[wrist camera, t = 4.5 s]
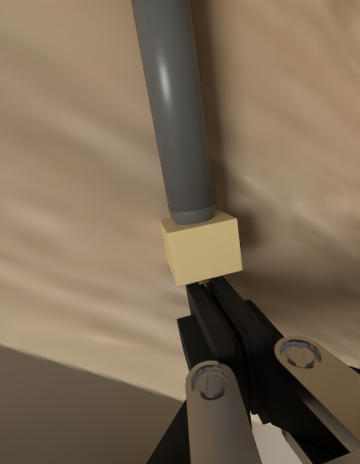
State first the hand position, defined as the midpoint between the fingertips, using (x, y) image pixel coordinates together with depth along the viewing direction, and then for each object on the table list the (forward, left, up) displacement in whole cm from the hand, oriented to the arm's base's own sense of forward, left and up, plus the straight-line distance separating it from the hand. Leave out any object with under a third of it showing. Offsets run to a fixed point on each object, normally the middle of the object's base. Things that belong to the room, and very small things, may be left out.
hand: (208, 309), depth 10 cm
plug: (0, -10, -1) cm, 10 cm away
